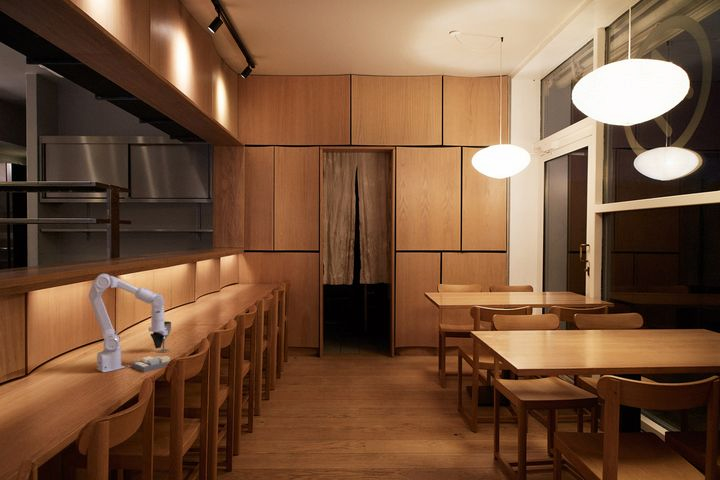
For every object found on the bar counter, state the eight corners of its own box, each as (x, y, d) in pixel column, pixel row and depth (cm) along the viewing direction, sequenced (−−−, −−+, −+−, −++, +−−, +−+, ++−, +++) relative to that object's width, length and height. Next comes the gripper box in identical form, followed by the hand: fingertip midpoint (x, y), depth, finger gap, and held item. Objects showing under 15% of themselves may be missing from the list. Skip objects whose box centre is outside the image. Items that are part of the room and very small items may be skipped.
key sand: (161, 363, 212) (161, 359, 212) (157, 361, 215) (157, 357, 215) (170, 361, 216) (169, 357, 216) (165, 359, 218) (165, 355, 218)
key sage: (156, 363, 216) (156, 359, 216) (152, 362, 218) (152, 358, 218) (164, 361, 219) (164, 357, 219) (160, 360, 221) (160, 356, 221)
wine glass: (151, 351, 238) (151, 323, 238) (164, 348, 245) (164, 320, 245) (162, 353, 234) (161, 325, 234) (174, 350, 241) (174, 322, 241)
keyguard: (144, 372, 204) (144, 367, 204) (131, 367, 212) (131, 362, 212) (174, 364, 216) (174, 359, 216) (161, 359, 223) (161, 355, 223)
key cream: (145, 363, 212) (145, 359, 212) (141, 362, 214) (141, 358, 214) (153, 361, 215) (153, 357, 215) (149, 360, 217) (149, 356, 217)
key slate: (151, 366, 208) (151, 361, 208) (146, 364, 211) (146, 360, 211) (159, 364, 212) (159, 359, 211) (155, 362, 214) (155, 358, 214)
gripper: (173, 320, 217) (173, 348, 217) (158, 316, 226) (158, 343, 226) (159, 322, 211) (159, 351, 211) (144, 319, 220) (144, 346, 220)
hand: (158, 347), depth 218 cm, fingers closed
